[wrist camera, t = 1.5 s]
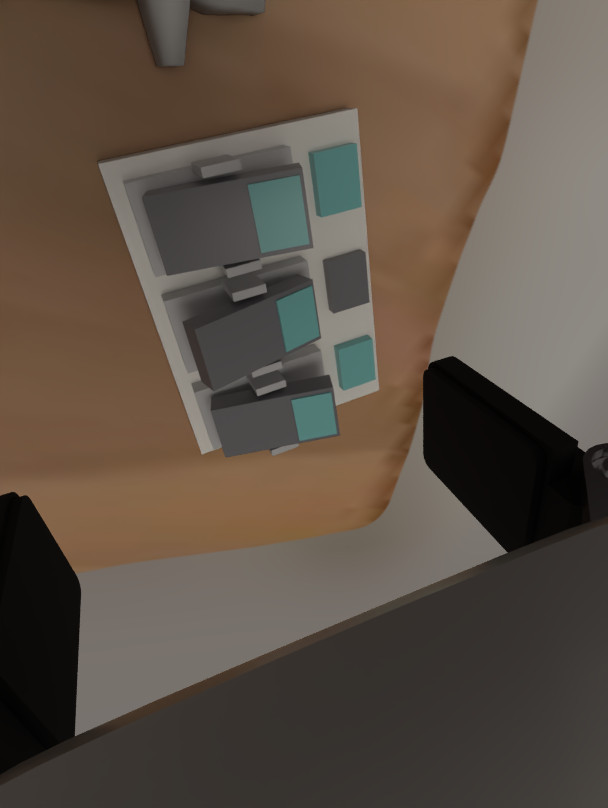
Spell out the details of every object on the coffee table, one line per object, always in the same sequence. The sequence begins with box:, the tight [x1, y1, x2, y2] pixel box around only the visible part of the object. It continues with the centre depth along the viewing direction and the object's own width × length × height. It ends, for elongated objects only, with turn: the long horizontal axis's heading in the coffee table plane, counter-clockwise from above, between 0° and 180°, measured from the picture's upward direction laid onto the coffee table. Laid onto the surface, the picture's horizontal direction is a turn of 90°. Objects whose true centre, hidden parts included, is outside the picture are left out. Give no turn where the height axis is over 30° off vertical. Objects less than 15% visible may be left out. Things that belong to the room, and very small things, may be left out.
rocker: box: [210, 375, 340, 457], centre depth 33 cm, size 4×8×2 cm, turn 99°
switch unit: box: [97, 108, 379, 456], centre depth 32 cm, size 20×15×5 cm
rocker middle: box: [182, 274, 321, 391], centre depth 29 cm, size 4×8×2 cm, turn 99°
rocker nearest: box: [142, 163, 314, 276], centre depth 26 cm, size 4×8×2 cm, turn 99°
